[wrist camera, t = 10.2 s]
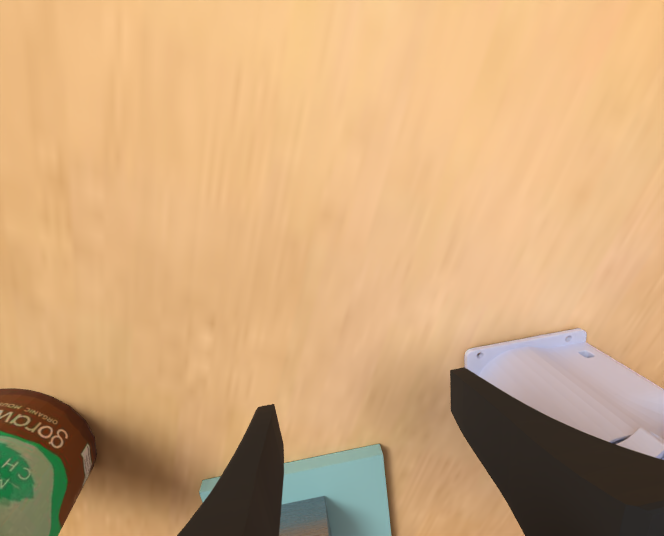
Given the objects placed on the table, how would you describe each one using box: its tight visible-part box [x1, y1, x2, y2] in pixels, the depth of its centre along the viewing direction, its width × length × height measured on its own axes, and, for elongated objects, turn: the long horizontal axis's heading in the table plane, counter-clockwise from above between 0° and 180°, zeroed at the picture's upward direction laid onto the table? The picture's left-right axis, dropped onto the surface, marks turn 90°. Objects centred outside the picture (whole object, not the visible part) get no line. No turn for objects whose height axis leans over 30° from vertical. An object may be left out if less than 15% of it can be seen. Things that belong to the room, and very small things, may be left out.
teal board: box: [199, 444, 391, 536], centre depth 27 cm, size 14×13×1 cm
